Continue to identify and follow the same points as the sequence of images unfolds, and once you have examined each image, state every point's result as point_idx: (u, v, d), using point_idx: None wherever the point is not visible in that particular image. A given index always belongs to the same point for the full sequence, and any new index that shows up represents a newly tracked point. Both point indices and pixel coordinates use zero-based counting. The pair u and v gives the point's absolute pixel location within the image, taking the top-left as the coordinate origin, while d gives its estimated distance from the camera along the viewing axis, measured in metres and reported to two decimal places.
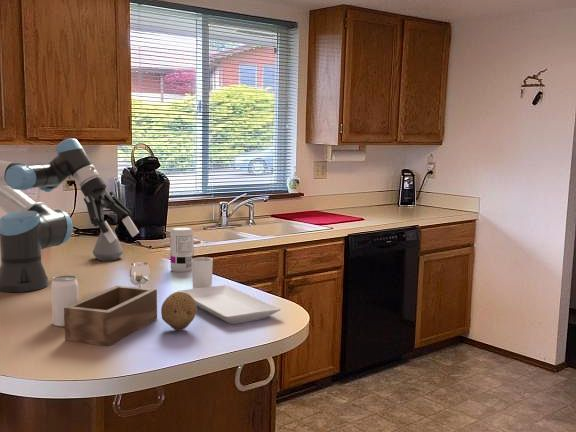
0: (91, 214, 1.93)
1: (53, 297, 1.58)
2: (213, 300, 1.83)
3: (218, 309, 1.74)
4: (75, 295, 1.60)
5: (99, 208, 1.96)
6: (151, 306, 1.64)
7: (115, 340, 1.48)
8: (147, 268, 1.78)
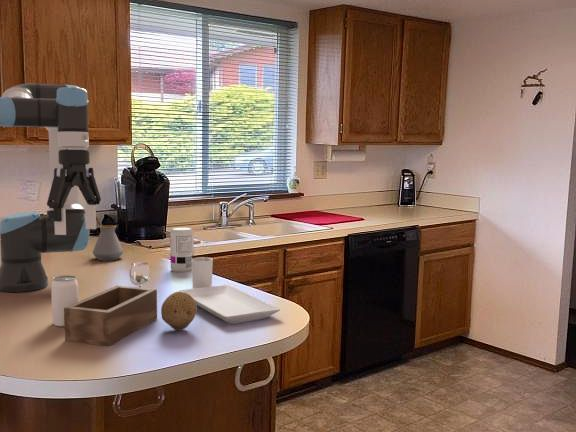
0: (52, 194, 1.53)
1: (53, 297, 1.58)
2: (214, 300, 1.83)
3: (218, 309, 1.74)
4: (75, 295, 1.60)
5: (66, 189, 1.56)
6: (151, 306, 1.64)
7: (115, 340, 1.48)
8: (147, 268, 1.78)
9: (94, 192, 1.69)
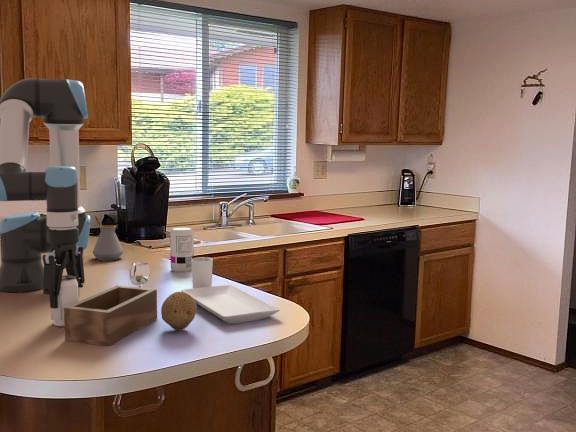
0: (46, 283, 1.54)
1: None
2: (215, 300, 1.84)
3: (219, 309, 1.74)
4: (75, 295, 1.60)
5: (58, 273, 1.57)
6: (151, 306, 1.64)
7: (115, 340, 1.48)
8: (147, 268, 1.78)
9: (79, 272, 1.65)
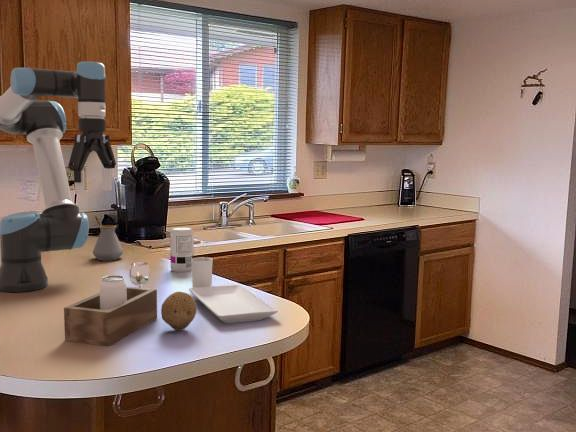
0: (72, 157, 1.71)
1: (102, 298, 1.55)
2: (221, 299, 1.85)
3: (220, 308, 1.75)
4: (124, 296, 1.56)
5: (85, 153, 1.75)
6: (151, 306, 1.64)
7: (115, 340, 1.48)
8: (147, 268, 1.78)
9: (110, 157, 1.87)
